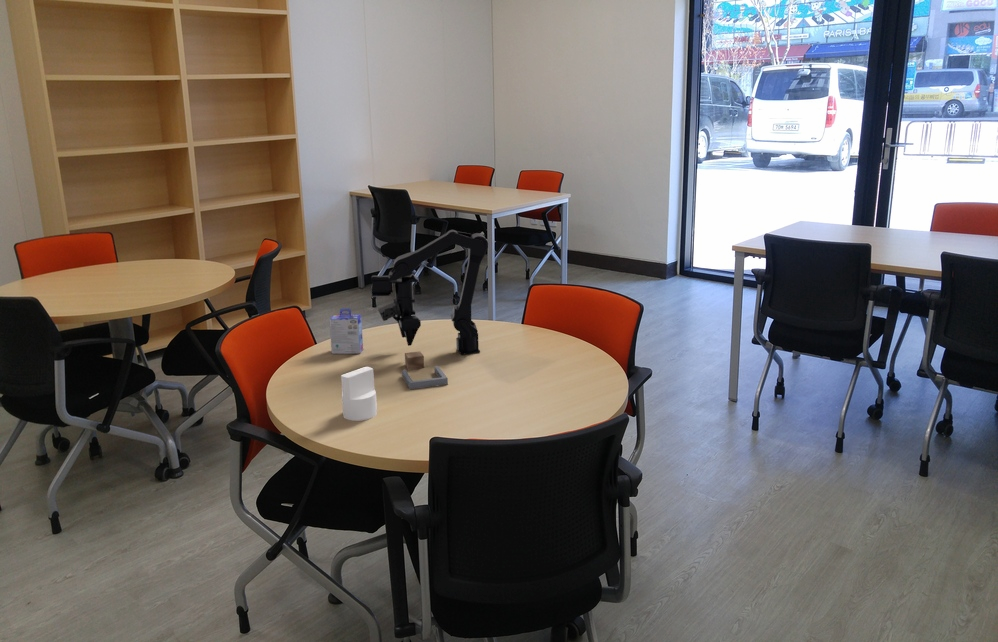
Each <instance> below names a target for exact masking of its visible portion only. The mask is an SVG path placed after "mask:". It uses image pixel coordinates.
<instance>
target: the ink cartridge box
mask: <svg viewBox="0 0 998 642" xmlns="http://www.w3.org/2000/svg"><path fill="white" fill-rule="evenodd" d="M347 312H348V313H347ZM328 320H329V334H330V335H329V336H330V345H331V346H330V347H331V354H332V355H334V354H335V355H338V354H339V355H341V354H345V355H346V354H347V355H349V354H350V355H351V354H352V355H353V354H361V353H362V352H363V350H364V340H363V339H364V338H363V324H362V323H363V322H362V315H361V314H352V308H340V310H339V314H338V315H335V314H334V315H332V316H330V318H329V319H328Z"/></svg>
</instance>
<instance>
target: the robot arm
mask: <svg viewBox="0 0 998 642" xmlns="http://www.w3.org/2000/svg"><path fill="white" fill-rule="evenodd" d="M453 245H456V246H460V247H462V248H465V249H467V252H468V253H467V257H468V258H467V266H466V270H465V275H464V279H463V284H462V289H461V293H460V298H459V302H458V303H457V305H456V304H452V312H451V314H450V317H451V322H452V323H453V327H454V329H455V330H456V332H458V333H457V337H456V339H455V341H456V342H455V343H456V350H457V351H458V353H460V355H469V354H471V355H472V354H478V353H481V350H480V348H479V332H478V328H477V325H476V323H475V322H474V321H473V319H472V303H473V299H474V293H475V290H476V285H477V280H478V276H479V271H480V266H481V264H482V262H483V260H484V258H485V257H486V254H487V251H488V248H489V243H488V239H486V237H485V235H483V233H479V232H476V233H473V234H471V233H467V232H462V231H458V230H455V229H450V230H448V231H447V232H445V233H444V234H442V235H441V236H439V237H438V238H436V239H434V240H431V241H430V242H428V243H427V244H425V245H424V246H422V247H420V248H419V249H417V250H414V251H410V252H406V253H404V254H402V255H399V256H397V257H396V258H395V259H394V262H393V267H392V269H391V270H390V271H389V273H388V275H372V276H371V297H372V298H377V297H379V298H380V297H381V298H382V297H390V296H391V295H392V294H393V293H394V296H395V297H394V298H393V302H391V303H387V304H386V305H384V306H382V307H380V308H378V310H377V311H378V313H379V316H380V318H381V319H382V321H383V322H385V321H388V320H390V319H391V318H393V319H394V320H395V321H396V322H397V324H398V328H399V330H400V335H401V337H402V338H406V344H407V346H412V345H413V342H414V340H415V337H416V335H417V334H418V330H419V329H420V328H421V326H422V325H421V323H422V322H421V319H420V318H419V317H418V316H417V315H416V311H415V310H414V309H415V308H414V307H415V304H414V303H415V302H416V301H415V298H414V289H413V285H414V284H413V283H418V282H419V278H418V277H417V276H416V275H415V274H414V273H413V272H414V271H415V270H417V268H418V267H419V266H420V265H421V264H423V262H425V261H427V260H428V259H430V258H432V257H434V256H436V255H437V254H439V253H440V252H442V251H444V250H446V249H447V248H449V247H451V246H453ZM393 285H394V286H393Z"/></svg>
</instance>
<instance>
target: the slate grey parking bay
mask: <svg viewBox="0 0 998 642" xmlns="http://www.w3.org/2000/svg"><path fill="white" fill-rule="evenodd" d="M434 374H435V375H436V376H437V377H434V378H433V377H432V378H427V379H426V378H425V379H419V380H413V379H412V378H411V376H410V375H409V373H408V371H407V370H406V369H403V370H401V377H402V379H403V381H404V382H405V385H408V386H407V387H408V389H409V390H414V389H415V388H416V389H423V388H430V387H431V386H432V387H438V386H437V385H439V386H445V385H444V384H447V385H449V382H448V381H449V380H448V376H447V375H446V374H445V372H444V371H443V370H442V369H441V368H440V366H439V365H435V366H434ZM438 377H439V378H438Z"/></svg>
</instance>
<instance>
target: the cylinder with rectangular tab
mask: <svg viewBox="0 0 998 642" xmlns="http://www.w3.org/2000/svg"><path fill="white" fill-rule="evenodd" d="M340 379H341V380H340V381H341V391H342V392H341V402H342V403H341V404H342V414H343V415H342V416H343V418H344V419H346V420H347V421H357V422H359V421H360V422H361V421H366V420H371V419H373V418H374V417H376V416H377V414H378V408H377V407H378V405H377V392H376V390H375V376H374V368H372V367H371V366H364V367H361V368H358V369H355V370H352V371H349V372H347V373H344V374H341V375H340Z"/></svg>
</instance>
